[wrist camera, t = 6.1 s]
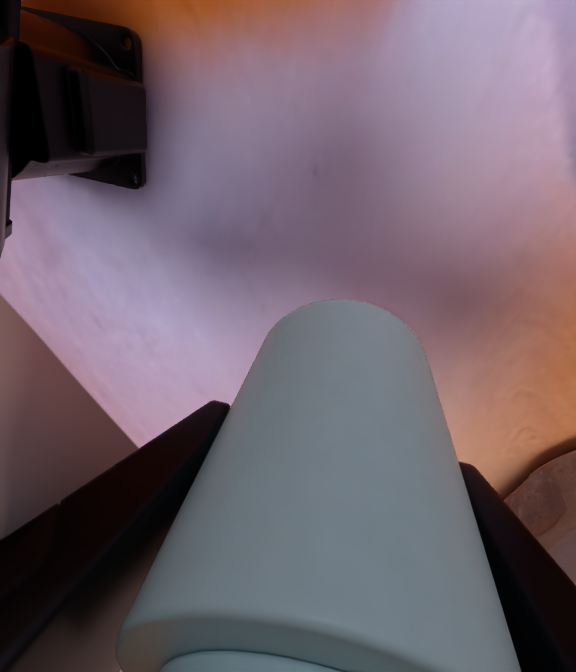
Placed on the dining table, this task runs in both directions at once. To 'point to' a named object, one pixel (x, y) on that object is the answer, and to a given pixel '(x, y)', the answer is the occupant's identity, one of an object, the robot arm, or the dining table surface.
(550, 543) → the pottery
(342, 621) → the aqua bottle
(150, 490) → the robot arm
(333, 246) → the dining table surface
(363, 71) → the dining table surface
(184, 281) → the dining table surface
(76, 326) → the dining table surface
